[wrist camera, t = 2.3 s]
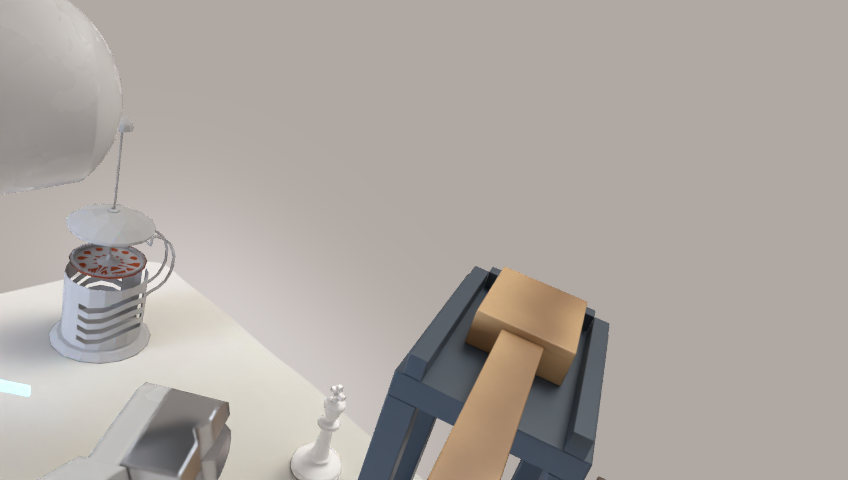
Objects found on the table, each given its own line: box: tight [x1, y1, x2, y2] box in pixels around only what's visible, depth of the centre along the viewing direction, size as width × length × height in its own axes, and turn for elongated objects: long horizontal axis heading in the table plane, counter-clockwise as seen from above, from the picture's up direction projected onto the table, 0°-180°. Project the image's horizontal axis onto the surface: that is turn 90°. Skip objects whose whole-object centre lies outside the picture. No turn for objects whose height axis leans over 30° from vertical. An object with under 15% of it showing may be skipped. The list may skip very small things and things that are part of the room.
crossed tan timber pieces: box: [427, 267, 587, 480], centre depth 30 cm, size 6×20×2 cm, turn 160°
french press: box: [49, 116, 175, 363], centre depth 63 cm, size 10×12×25 cm
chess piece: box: [291, 384, 346, 480], centre depth 57 cm, size 5×5×10 cm
